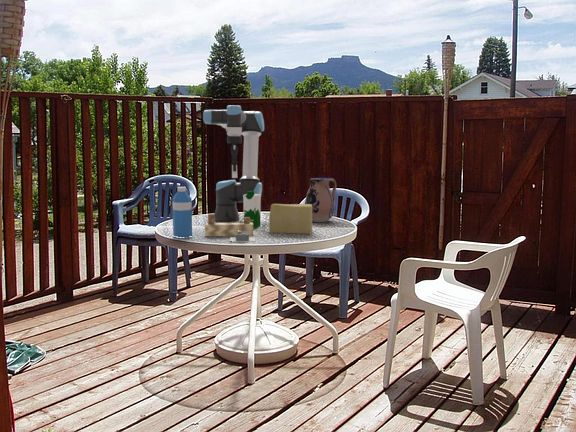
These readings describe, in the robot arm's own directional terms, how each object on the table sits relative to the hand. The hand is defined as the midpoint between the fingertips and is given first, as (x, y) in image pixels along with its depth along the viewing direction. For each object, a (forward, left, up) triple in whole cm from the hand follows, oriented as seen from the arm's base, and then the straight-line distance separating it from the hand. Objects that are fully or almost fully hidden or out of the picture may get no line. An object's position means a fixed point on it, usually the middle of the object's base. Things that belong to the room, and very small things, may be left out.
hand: (234, 176), depth 327 cm
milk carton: (0, +16, -29) cm, 33 cm away
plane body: (+5, -12, -29) cm, 31 cm away
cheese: (+27, +12, -29) cm, 41 cm away
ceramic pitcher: (+22, +55, -29) cm, 66 cm away
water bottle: (-12, -28, -29) cm, 42 cm away
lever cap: (+18, -19, -28) cm, 39 cm away
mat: (+18, -19, -29) cm, 39 cm away
